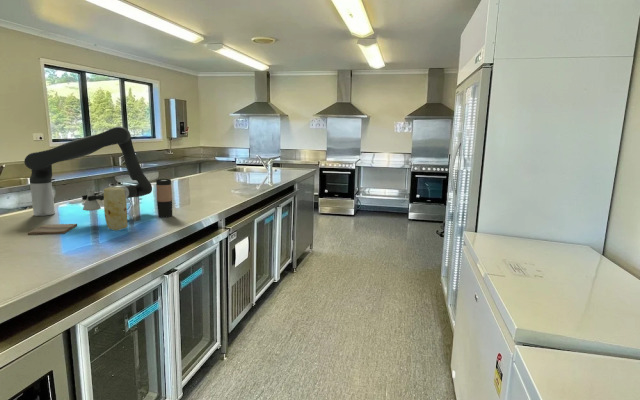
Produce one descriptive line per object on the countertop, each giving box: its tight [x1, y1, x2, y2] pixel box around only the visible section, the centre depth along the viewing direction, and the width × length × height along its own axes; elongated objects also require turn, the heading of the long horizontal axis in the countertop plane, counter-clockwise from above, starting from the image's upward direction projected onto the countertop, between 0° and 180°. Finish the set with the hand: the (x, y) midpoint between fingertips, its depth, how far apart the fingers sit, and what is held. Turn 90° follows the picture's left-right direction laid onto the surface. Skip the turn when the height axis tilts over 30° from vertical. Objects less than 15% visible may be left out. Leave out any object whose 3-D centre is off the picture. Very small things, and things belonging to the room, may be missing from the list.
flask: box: [82, 188, 102, 212], centre depth 180 cm, size 7×7×10 cm
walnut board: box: [27, 223, 78, 236], centre depth 169 cm, size 14×14×1 cm
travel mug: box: [155, 178, 173, 218], centre depth 200 cm, size 8×8×20 cm
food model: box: [103, 186, 129, 232], centre depth 171 cm, size 10×7×20 cm
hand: (85, 198), depth 177 cm, fingers closed on flask, 3 cm apart
